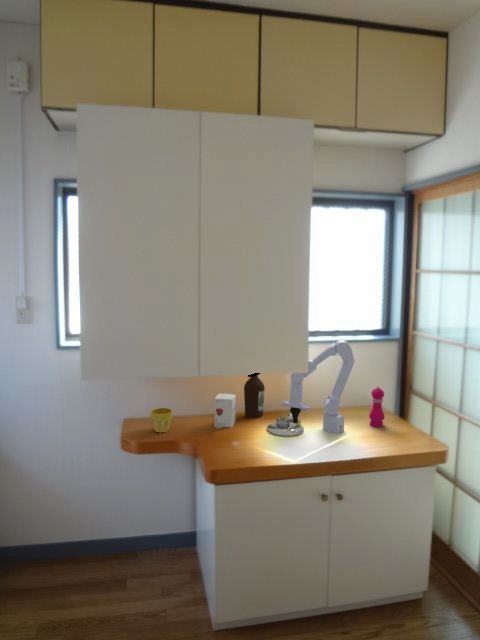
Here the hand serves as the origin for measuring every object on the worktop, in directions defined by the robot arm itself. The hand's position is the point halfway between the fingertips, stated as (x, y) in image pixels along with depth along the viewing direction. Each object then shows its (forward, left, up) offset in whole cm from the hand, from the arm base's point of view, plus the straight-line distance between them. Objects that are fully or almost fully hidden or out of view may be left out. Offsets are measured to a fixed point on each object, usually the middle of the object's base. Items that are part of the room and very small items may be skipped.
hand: (295, 422), depth 222 cm
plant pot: (+44, +46, -4) cm, 64 cm away
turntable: (+1, +6, -2) cm, 7 cm away
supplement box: (+28, +20, -4) cm, 34 cm away
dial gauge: (+7, -4, -3) cm, 9 cm away
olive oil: (+27, 0, -4) cm, 27 cm away
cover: (+3, +5, -1) cm, 6 cm away
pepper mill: (-24, -34, -4) cm, 42 cm away
